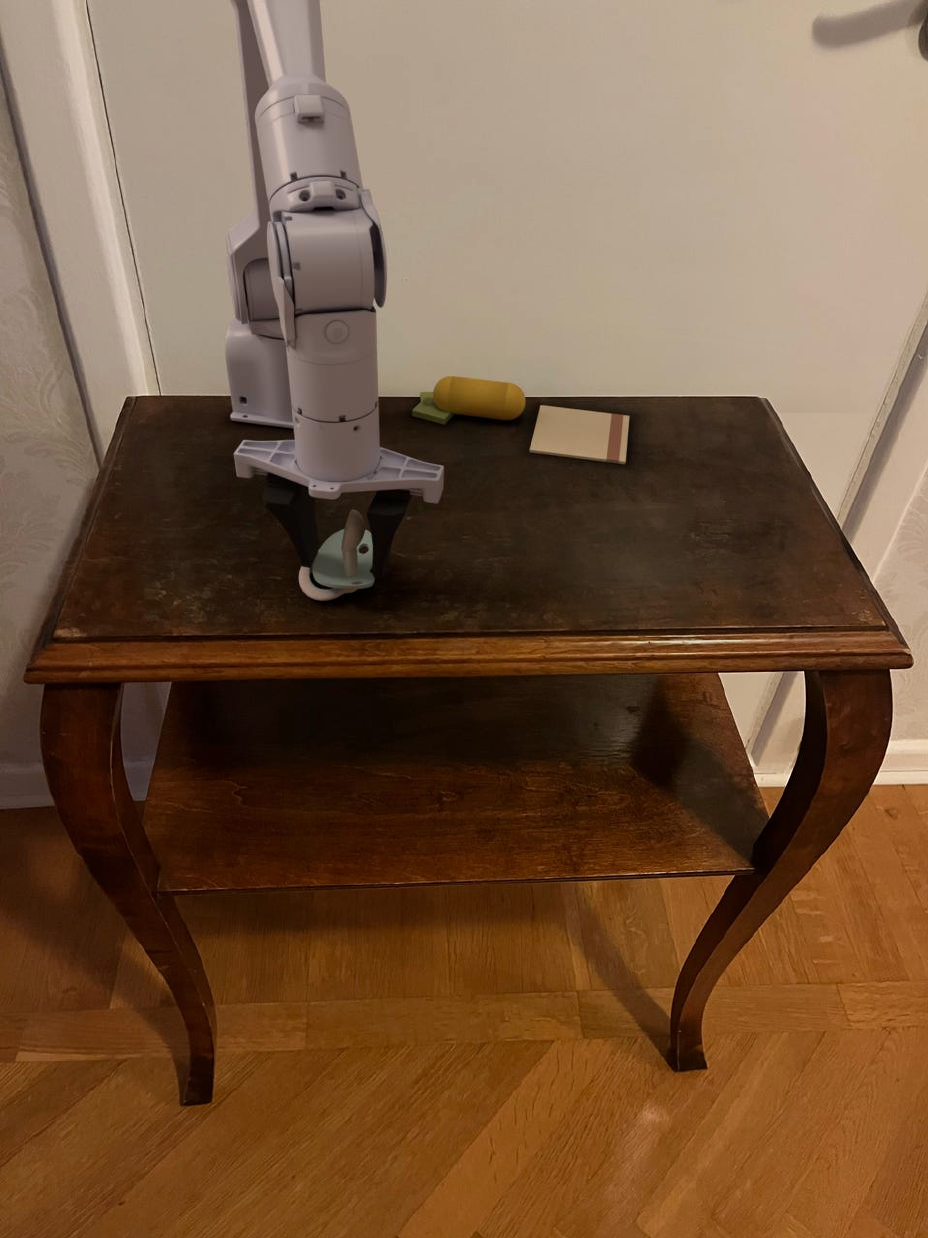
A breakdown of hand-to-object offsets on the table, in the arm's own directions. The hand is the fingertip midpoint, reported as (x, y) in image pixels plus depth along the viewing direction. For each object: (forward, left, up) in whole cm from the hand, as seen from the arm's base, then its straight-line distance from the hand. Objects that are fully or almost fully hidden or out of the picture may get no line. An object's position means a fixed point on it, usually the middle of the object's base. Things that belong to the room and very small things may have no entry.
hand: (344, 564), depth 69 cm
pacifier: (-1, 0, -2) cm, 2 cm away
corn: (+5, +29, -2) cm, 29 cm away
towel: (+16, +27, -2) cm, 31 cm away
